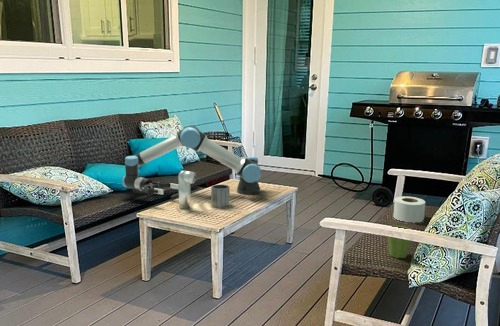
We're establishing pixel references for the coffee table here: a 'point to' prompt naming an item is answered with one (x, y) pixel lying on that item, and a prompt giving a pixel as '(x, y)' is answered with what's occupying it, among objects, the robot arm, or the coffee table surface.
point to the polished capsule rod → (185, 188)
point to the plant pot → (398, 246)
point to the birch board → (197, 208)
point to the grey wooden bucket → (220, 196)
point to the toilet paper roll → (409, 209)
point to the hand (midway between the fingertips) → (171, 189)
